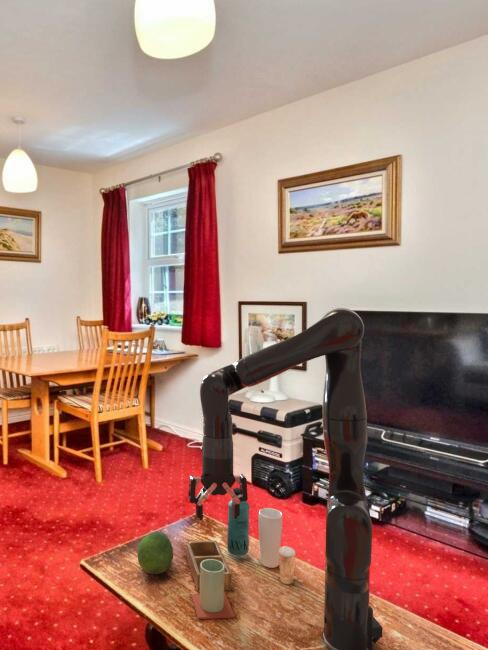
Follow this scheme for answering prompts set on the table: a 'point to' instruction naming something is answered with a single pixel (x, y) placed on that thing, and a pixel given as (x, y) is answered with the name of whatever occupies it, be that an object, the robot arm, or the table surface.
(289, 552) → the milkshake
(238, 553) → the beverage bottle
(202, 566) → the cup
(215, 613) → the coaster mat
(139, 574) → the table surface
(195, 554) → the brown wooden shelf
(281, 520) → the drinking glass
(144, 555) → the fruit
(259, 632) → the table surface
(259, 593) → the table surface
